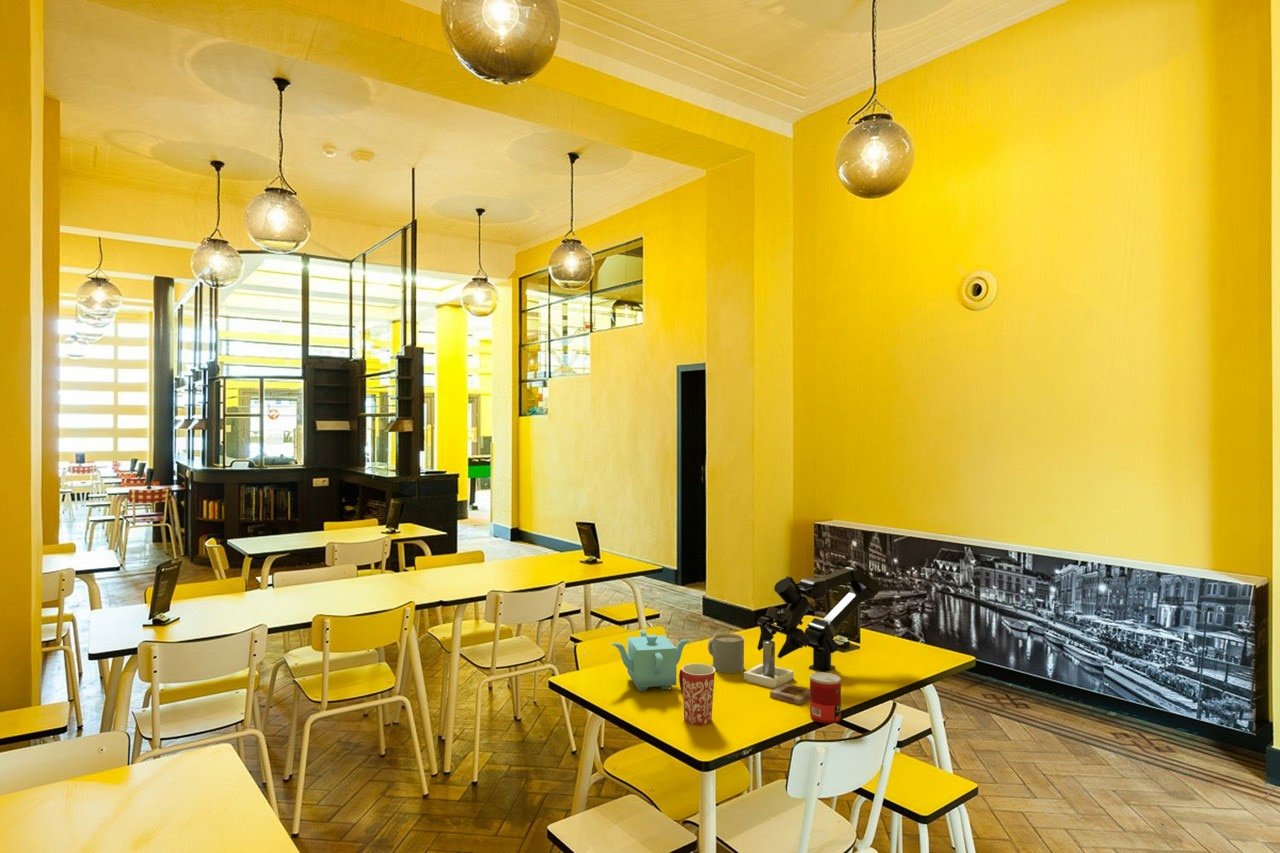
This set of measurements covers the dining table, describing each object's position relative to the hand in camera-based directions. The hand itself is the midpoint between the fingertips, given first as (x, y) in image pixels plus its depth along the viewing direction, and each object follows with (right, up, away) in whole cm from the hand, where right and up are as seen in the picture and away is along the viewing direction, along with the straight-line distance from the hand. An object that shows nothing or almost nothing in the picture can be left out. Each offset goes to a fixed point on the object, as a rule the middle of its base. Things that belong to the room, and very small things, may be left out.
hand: (768, 653), depth 216 cm
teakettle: (-36, -8, -4) cm, 37 cm away
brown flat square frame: (+5, -8, -14) cm, 16 cm away
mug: (-25, -8, -30) cm, 40 cm away
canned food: (+10, -8, -30) cm, 32 cm away
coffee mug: (-12, -8, +12) cm, 19 cm away
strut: (0, -7, 0) cm, 8 cm away
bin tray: (0, -8, 0) cm, 8 cm away
